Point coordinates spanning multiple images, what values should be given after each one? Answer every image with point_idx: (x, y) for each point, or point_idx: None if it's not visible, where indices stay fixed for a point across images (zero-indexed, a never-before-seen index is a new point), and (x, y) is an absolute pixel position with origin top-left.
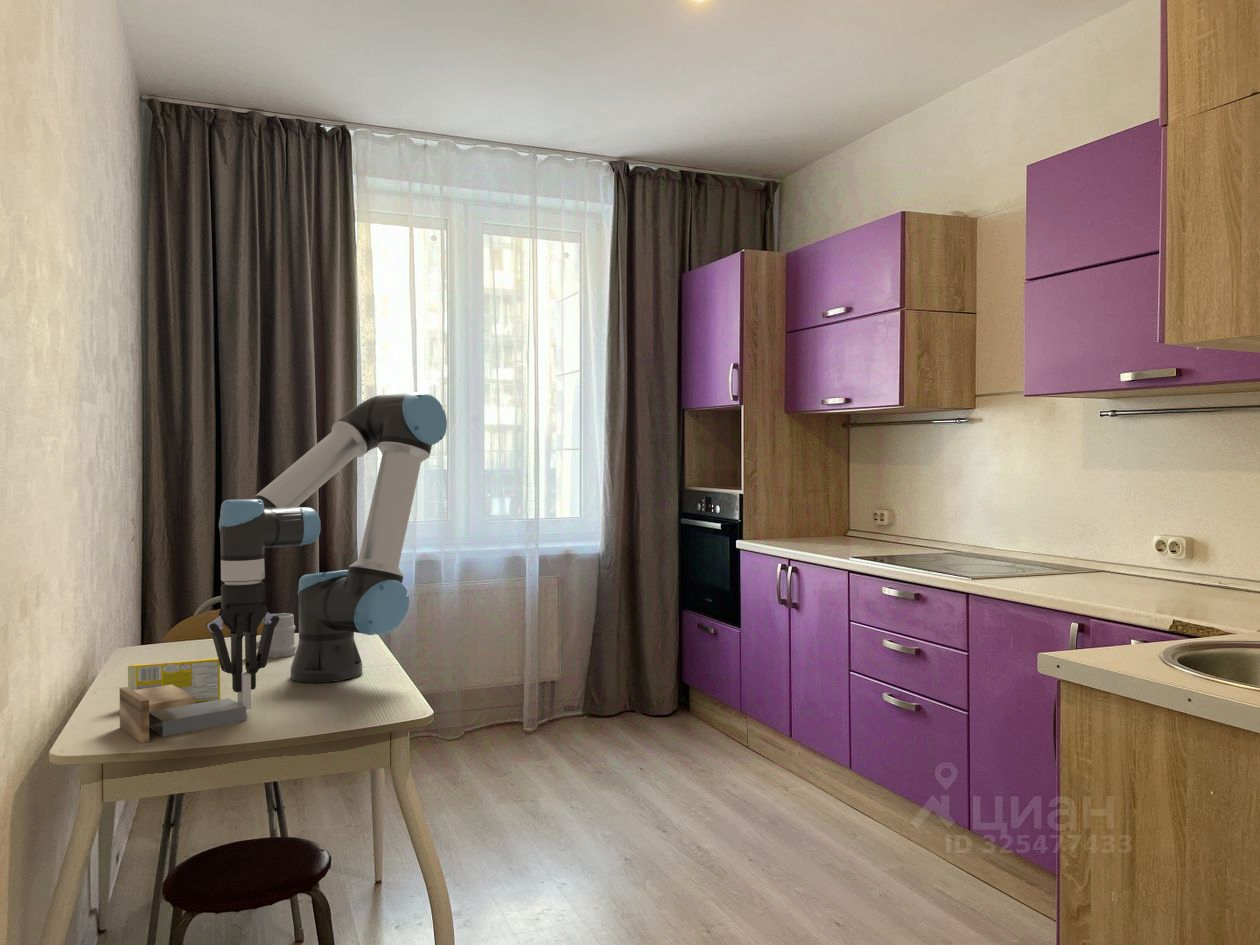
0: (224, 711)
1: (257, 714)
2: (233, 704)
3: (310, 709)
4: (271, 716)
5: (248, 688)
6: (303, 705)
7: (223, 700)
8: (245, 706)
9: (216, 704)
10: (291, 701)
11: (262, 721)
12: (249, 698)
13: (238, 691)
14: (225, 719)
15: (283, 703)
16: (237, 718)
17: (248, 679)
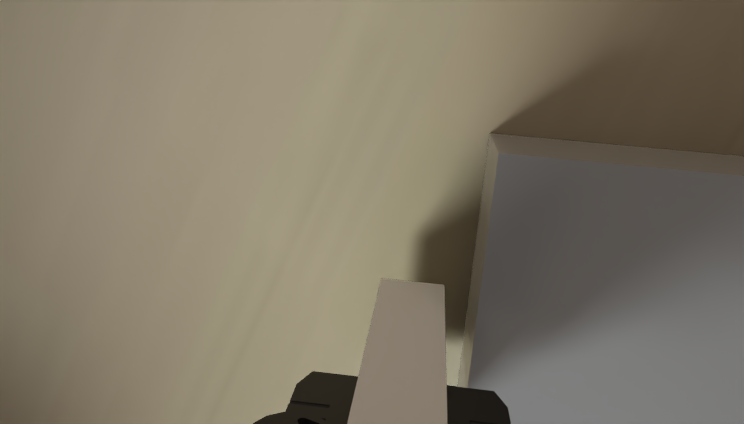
0: (696, 168)
1: (351, 234)
2: (530, 312)
3: (15, 61)
4: (305, 98)
5: (388, 360)
6: (16, 211)
7: None
8: (501, 161)
9: (620, 418)
10: (43, 371)
11: (419, 8)
12: (388, 313)
13: (472, 391)
14: (663, 153)
15: (101, 365)
16: (561, 145)
17: (379, 413)
